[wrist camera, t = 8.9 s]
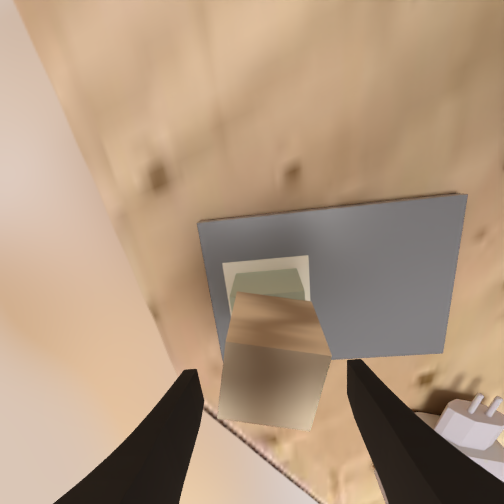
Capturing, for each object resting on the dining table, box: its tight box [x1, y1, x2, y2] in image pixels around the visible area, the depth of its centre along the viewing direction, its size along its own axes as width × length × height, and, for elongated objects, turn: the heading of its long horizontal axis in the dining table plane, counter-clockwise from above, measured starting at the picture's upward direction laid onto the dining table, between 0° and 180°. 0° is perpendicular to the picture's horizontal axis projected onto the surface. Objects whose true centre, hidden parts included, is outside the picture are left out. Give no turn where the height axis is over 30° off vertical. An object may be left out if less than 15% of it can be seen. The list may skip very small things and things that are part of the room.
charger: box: [374, 393, 504, 504], centre depth 24 cm, size 5×9×15 cm
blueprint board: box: [197, 193, 468, 361], centre depth 21 cm, size 20×14×1 cm
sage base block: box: [229, 268, 305, 311], centre depth 19 cm, size 5×5×4 cm
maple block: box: [217, 291, 332, 432], centre depth 14 cm, size 5×5×5 cm
